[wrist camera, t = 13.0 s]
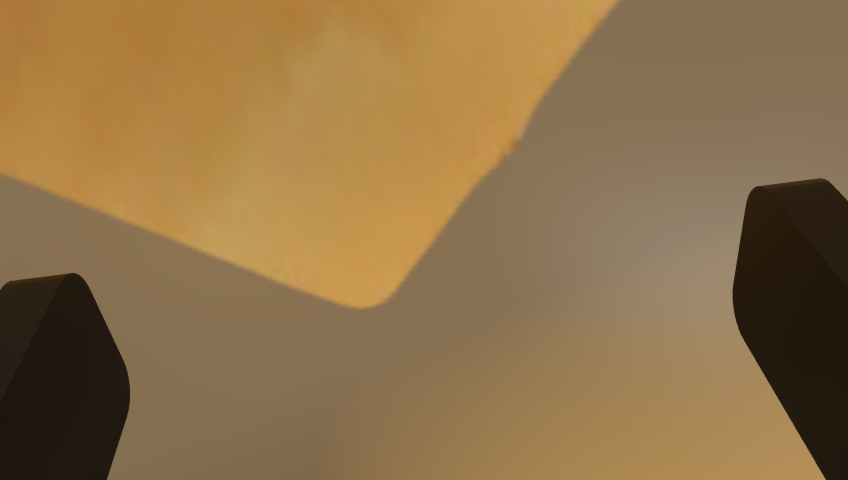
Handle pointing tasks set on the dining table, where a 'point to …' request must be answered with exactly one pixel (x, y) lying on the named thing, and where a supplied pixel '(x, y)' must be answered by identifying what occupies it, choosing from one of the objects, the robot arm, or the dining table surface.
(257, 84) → the dining table surface
